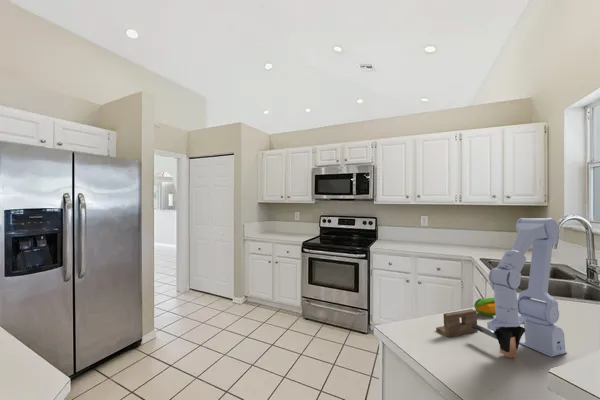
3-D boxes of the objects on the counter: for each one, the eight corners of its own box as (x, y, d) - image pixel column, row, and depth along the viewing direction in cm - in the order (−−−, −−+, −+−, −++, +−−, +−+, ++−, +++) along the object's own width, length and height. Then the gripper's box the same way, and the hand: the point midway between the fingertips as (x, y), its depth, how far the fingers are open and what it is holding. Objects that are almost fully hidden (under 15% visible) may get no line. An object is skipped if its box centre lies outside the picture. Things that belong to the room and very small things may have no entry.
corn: (468, 296, 117) (504, 292, 121) (468, 312, 117) (504, 308, 121) (483, 302, 110) (521, 298, 114) (483, 320, 110) (521, 315, 114)
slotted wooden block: (477, 331, 99) (476, 310, 99) (449, 337, 95) (447, 315, 95) (463, 325, 104) (462, 305, 105) (436, 330, 100) (435, 309, 101)
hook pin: (517, 356, 80) (515, 336, 81) (510, 357, 79) (508, 338, 80) (477, 337, 93) (476, 320, 93) (471, 338, 92) (470, 321, 92)
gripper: (509, 299, 88) (512, 340, 87) (477, 304, 84) (479, 347, 83) (532, 306, 81) (536, 350, 80) (499, 312, 77) (502, 359, 76)
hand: (509, 349), depth 81 cm, fingers closed on hook pin, 3 cm apart
